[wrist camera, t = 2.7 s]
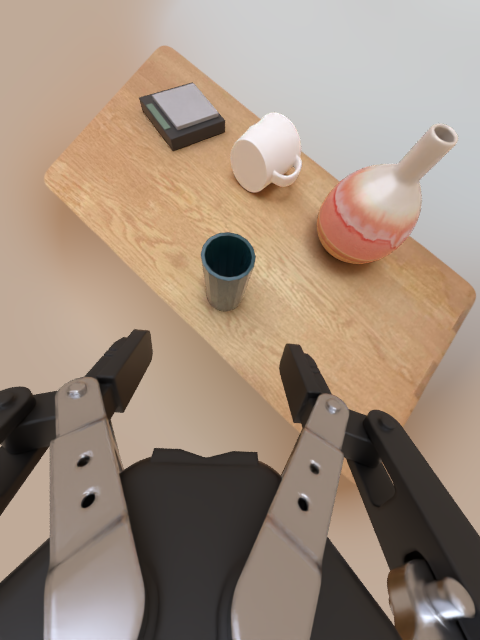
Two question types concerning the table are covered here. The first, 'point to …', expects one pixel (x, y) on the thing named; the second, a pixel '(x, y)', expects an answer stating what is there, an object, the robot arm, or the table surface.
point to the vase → (380, 202)
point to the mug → (267, 153)
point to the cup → (227, 269)
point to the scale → (182, 115)
